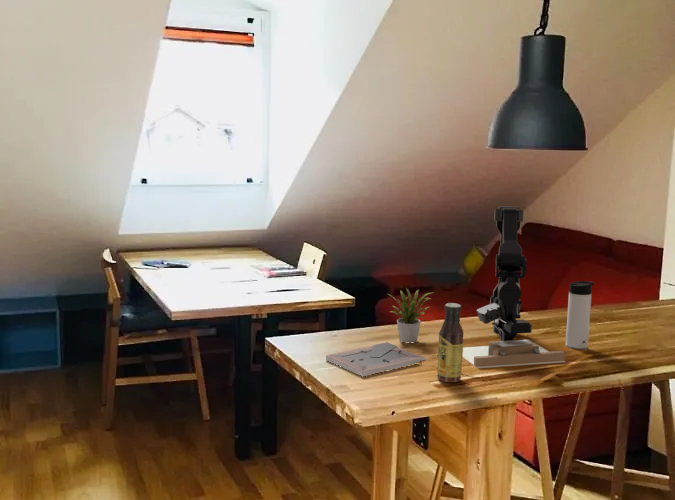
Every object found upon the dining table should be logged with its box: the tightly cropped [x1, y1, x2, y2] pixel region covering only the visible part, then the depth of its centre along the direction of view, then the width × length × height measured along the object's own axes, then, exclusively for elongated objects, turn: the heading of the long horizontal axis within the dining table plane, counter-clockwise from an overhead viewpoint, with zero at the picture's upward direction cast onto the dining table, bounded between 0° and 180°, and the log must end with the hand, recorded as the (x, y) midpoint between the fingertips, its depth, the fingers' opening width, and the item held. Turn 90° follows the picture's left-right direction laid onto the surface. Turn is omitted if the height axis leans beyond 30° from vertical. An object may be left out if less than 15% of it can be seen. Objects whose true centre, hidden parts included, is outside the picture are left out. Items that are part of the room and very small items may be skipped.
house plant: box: [387, 287, 435, 343], centre depth 231 cm, size 14×14×16 cm
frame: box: [488, 339, 540, 356], centre depth 214 cm, size 6×12×4 cm, turn 103°
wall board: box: [462, 345, 567, 369], centre depth 218 cm, size 18×26×4 cm
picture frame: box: [325, 342, 426, 377], centre depth 213 cm, size 16×2×22 cm
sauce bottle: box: [436, 302, 464, 383], centre depth 197 cm, size 7×6×20 cm
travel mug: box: [565, 280, 594, 351], centre depth 226 cm, size 6×7×20 cm
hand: (505, 349), depth 219 cm, fingers closed
